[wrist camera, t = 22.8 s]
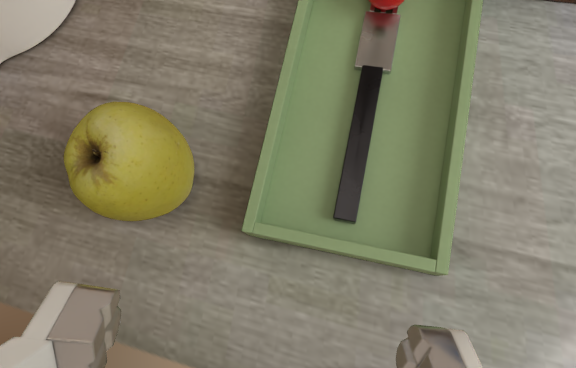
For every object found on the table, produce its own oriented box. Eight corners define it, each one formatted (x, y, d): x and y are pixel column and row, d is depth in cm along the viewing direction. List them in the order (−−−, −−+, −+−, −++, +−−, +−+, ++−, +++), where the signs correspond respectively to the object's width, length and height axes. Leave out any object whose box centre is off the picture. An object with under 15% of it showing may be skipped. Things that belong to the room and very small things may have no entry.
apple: (216, 117, 31) (150, 96, 21) (205, 218, 31) (136, 244, 21) (123, 107, 32) (20, 83, 22) (114, 204, 32) (10, 222, 23)
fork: (320, 217, 28) (318, 209, 25) (367, -18, 33) (371, -52, 29) (367, 226, 28) (372, 219, 24) (409, -14, 32) (417, -48, 29)
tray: (248, 235, 29) (241, 230, 27) (313, -30, 34) (311, -54, 32) (438, 275, 27) (448, 275, 24) (476, -15, 32) (488, -39, 29)
